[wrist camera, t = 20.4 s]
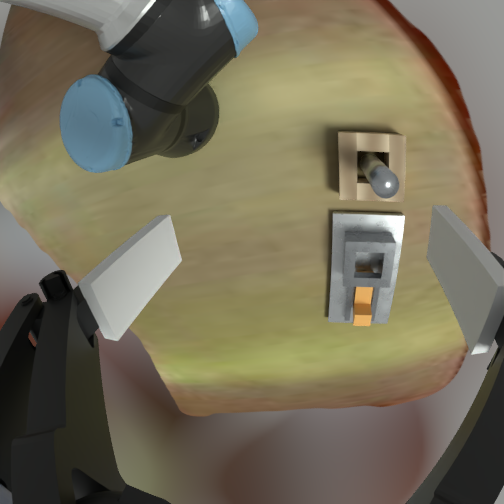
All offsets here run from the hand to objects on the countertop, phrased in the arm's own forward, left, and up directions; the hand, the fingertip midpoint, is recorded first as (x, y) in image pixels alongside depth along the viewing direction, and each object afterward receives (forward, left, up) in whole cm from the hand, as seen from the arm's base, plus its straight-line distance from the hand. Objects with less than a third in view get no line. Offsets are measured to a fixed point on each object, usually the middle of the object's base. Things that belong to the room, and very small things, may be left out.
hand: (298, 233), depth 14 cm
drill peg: (+8, -2, -33) cm, 34 cm away
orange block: (+8, -24, -32) cm, 41 cm away
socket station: (+8, -21, -33) cm, 40 cm away
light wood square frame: (+8, -2, -33) cm, 34 cm away
